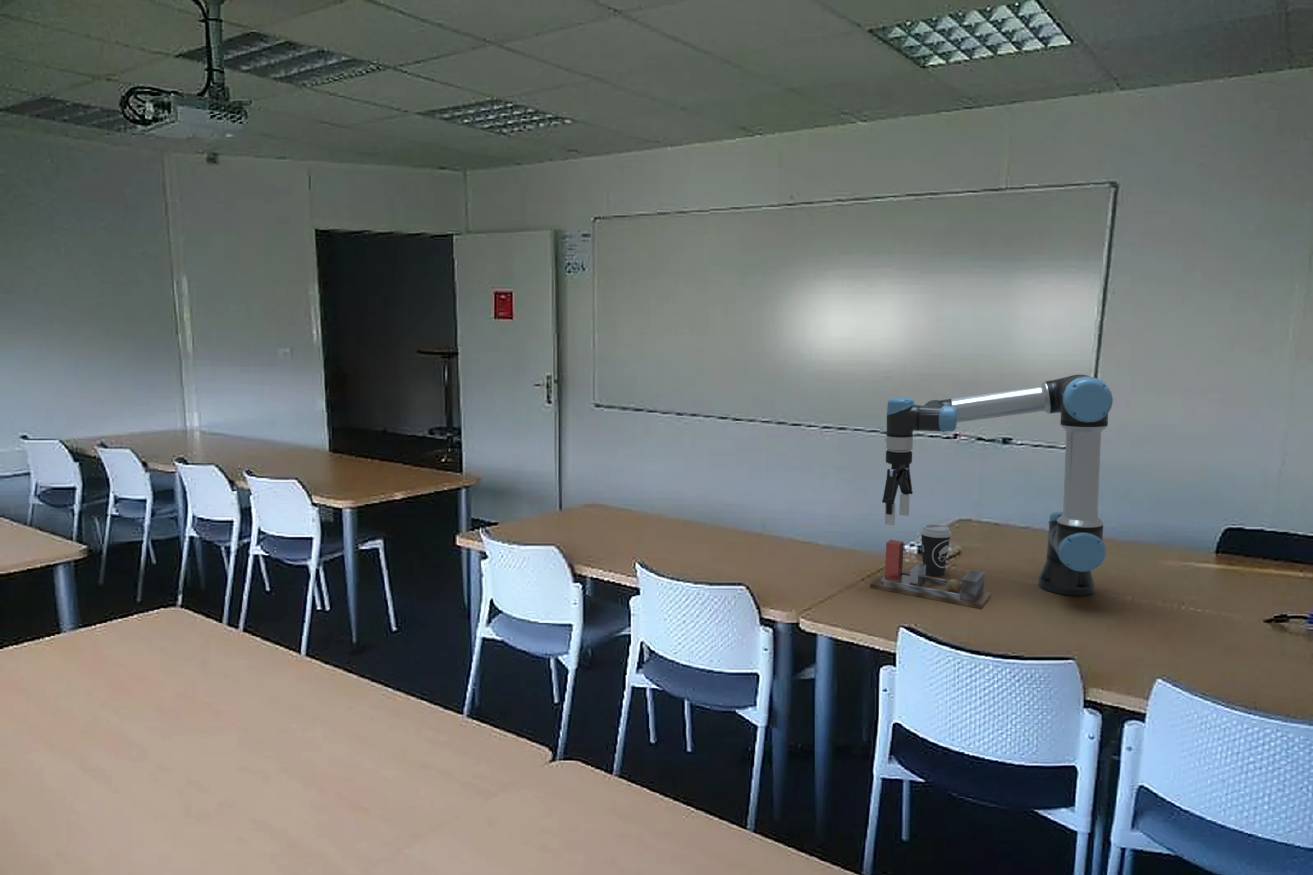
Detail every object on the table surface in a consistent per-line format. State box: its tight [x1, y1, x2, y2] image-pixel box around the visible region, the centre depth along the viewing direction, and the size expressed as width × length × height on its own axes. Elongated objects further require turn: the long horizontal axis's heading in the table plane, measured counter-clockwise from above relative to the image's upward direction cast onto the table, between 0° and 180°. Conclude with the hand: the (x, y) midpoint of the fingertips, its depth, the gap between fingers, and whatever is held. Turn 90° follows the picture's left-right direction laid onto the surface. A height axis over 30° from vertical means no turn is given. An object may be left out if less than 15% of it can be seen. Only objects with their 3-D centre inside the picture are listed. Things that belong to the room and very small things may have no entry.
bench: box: [869, 570, 992, 610], centre depth 240 cm, size 32×12×7 cm, turn 56°
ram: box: [881, 539, 927, 586], centre depth 244 cm, size 11×8×12 cm
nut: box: [947, 578, 961, 593], centre depth 237 cm, size 4×4×4 cm
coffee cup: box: [919, 523, 953, 577], centre depth 258 cm, size 10×10×15 cm
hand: (897, 519), depth 244 cm, fingers open, 13 cm apart
